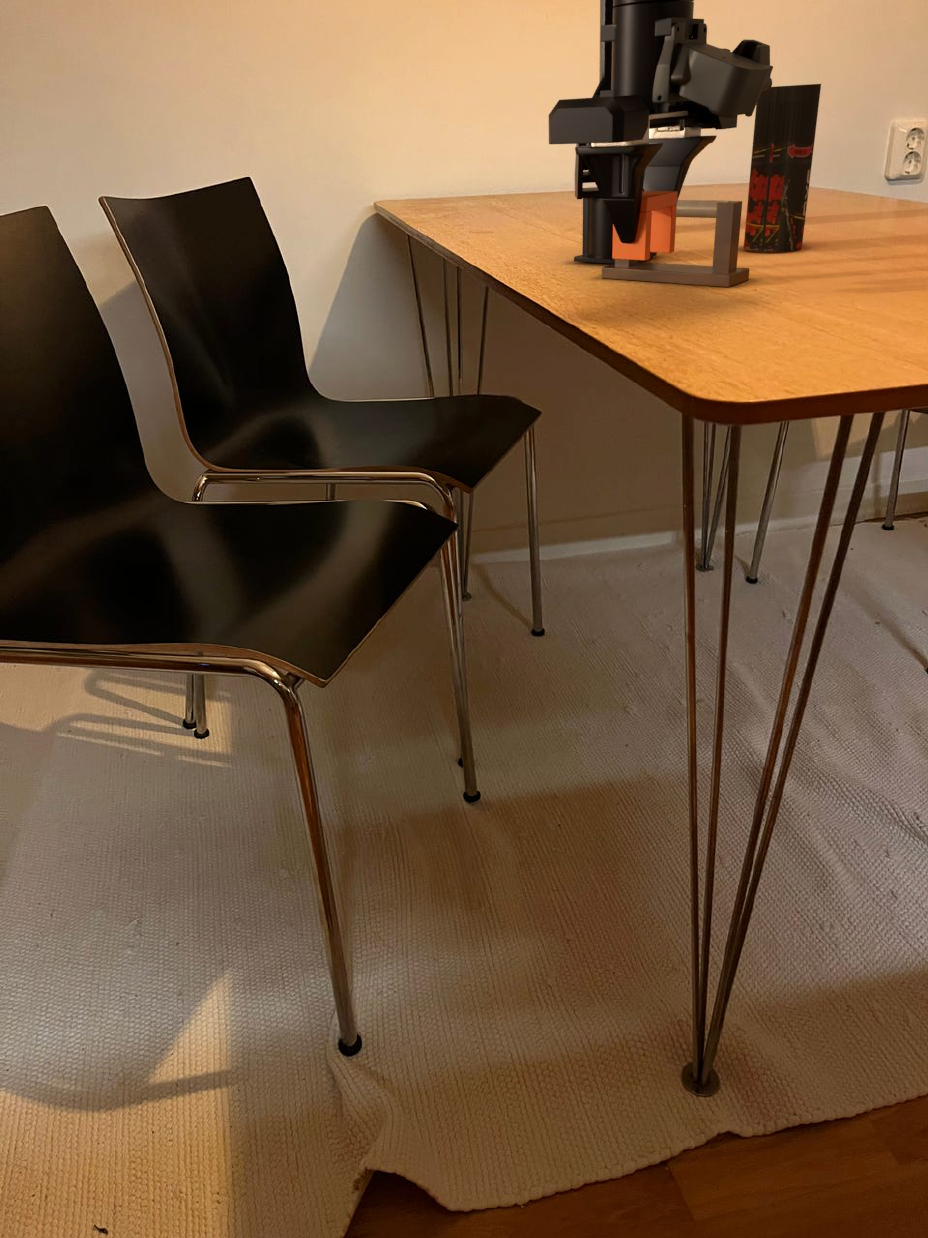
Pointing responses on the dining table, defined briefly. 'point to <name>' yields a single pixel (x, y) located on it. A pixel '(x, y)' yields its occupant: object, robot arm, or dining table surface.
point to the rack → (716, 275)
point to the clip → (651, 227)
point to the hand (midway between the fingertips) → (644, 238)
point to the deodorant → (781, 168)
